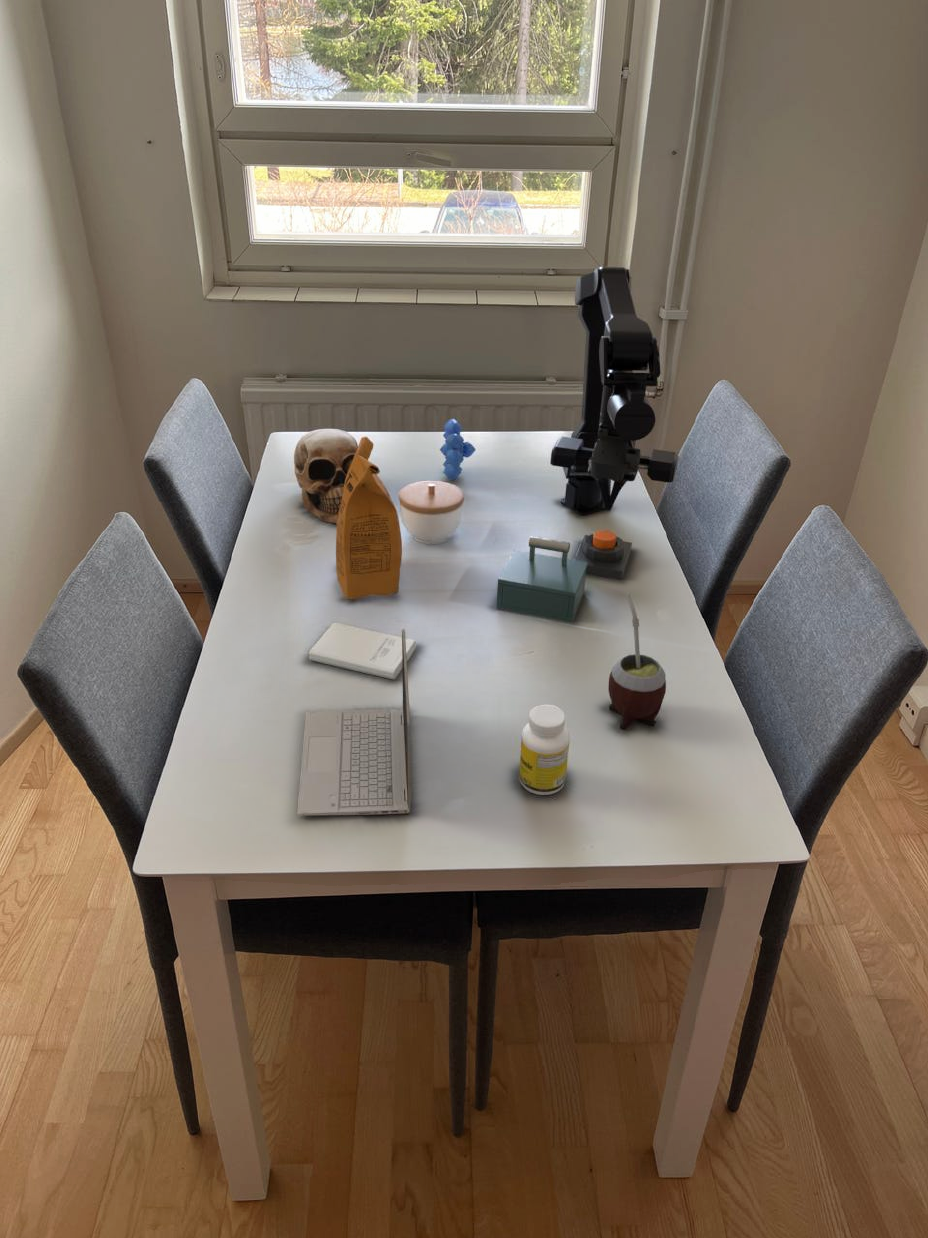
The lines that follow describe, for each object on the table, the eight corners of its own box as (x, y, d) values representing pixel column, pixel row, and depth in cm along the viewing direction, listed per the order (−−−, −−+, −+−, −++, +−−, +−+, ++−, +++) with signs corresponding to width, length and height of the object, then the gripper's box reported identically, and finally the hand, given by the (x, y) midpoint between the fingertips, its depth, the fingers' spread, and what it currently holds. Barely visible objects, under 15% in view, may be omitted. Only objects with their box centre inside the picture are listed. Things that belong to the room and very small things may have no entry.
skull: (347, 528, 160) (339, 452, 154) (270, 512, 168) (259, 440, 162) (400, 498, 172) (394, 426, 165) (325, 484, 180) (317, 416, 174)
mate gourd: (646, 741, 116) (664, 641, 108) (588, 719, 119) (601, 620, 111) (669, 710, 121) (687, 612, 113) (613, 689, 125) (627, 592, 116)
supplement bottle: (515, 765, 112) (520, 700, 106) (560, 764, 112) (567, 699, 107) (521, 798, 107) (527, 731, 102) (568, 796, 108) (576, 730, 102)
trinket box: (465, 523, 163) (467, 473, 158) (459, 553, 154) (460, 501, 149) (404, 519, 164) (404, 469, 159) (394, 548, 155) (393, 496, 150)
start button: (594, 537, 154) (596, 528, 153) (616, 541, 153) (618, 532, 152) (590, 548, 151) (591, 538, 150) (613, 551, 150) (614, 542, 149)
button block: (583, 543, 158) (585, 525, 156) (630, 551, 156) (633, 532, 155) (571, 571, 150) (573, 552, 148) (621, 580, 148) (623, 561, 146)
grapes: (476, 492, 174) (479, 430, 167) (440, 492, 173) (441, 430, 167) (472, 466, 184) (474, 407, 177) (438, 466, 183) (438, 407, 177)
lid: (513, 553, 146) (515, 527, 143) (587, 566, 143) (590, 540, 141) (497, 583, 138) (499, 556, 136) (575, 597, 136) (578, 570, 133)
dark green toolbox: (511, 580, 148) (512, 556, 145) (583, 593, 145) (586, 569, 143) (496, 608, 141) (497, 583, 138) (572, 622, 138) (575, 597, 136)
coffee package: (399, 560, 152) (397, 431, 140) (404, 601, 142) (402, 465, 130) (337, 562, 151) (330, 432, 139) (337, 603, 141) (329, 467, 128)
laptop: (306, 715, 118) (299, 629, 111) (406, 712, 119) (405, 627, 112) (297, 819, 103) (288, 727, 96) (411, 814, 104) (411, 723, 97)
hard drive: (335, 630, 135) (416, 648, 131) (309, 661, 128) (393, 681, 125) (334, 620, 134) (416, 638, 131) (308, 652, 127) (393, 671, 124)
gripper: (546, 425, 135) (538, 522, 144) (677, 442, 131) (661, 542, 139) (562, 399, 144) (554, 492, 153) (685, 415, 140) (670, 510, 148)
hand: (608, 509), depth 148 cm, fingers closed
